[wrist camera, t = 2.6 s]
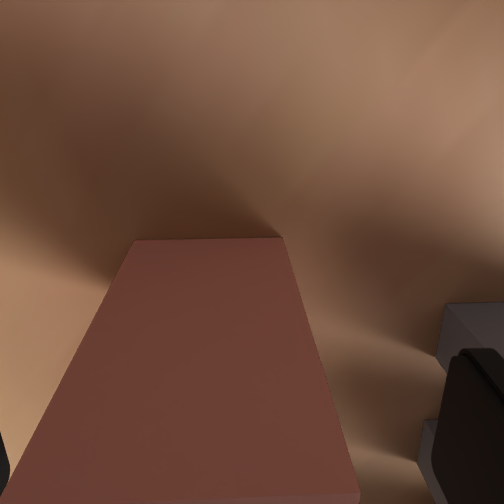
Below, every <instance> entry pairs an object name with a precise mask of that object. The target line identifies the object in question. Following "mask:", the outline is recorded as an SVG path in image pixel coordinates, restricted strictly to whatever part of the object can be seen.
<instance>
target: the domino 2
mask: <svg viewBox="0 0 504 504" xmlns="http://www.w3.org/2000/svg"><path fill="white" fill-rule="evenodd" d="M437 423H438V419H435V420H424V425H423V431H422V436H421V441H420V447H419V452H418V458H417V465H418V467H419V469H420V471H421V473H422V475H423V477H424V480H425V482H426V484H427V486H428V488H429V490H430V492H431V494H432V497H433V499H434V501H435V503H436V504H448V502H447V500H446V498H445V496H444V494H443V492H442V489H441V487H440V485H439V483H438V481H437V479H436V477H435V474H434V472H433V468H432V464H431V452H432V447H433V442H434V437H435V433H436V428H437Z"/></svg>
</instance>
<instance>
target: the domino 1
mask: <svg viewBox="0 0 504 504" xmlns="http://www.w3.org/2000/svg"><path fill="white" fill-rule="evenodd" d="M360 496H361V491H360V488H359V485H358V481H357V478H356V475H355V472H354V468H353V465H352V462H351V459H350V455H349V452H348V449H347V446H346V442H345V439H344V436H343V433H342V429H341V426H340V423H339V420H338V416H337V413H336V410H335V407H334V403H333V400H332V397H331V394H330V390H329V387H328V384H327V381H326V377H325V374H324V371H323V368H322V364H321V361H320V358H319V355H318V351H317V348H316V345H315V342H314V338H313V335H312V332H311V329H310V325H309V322H308V319H307V316H306V312H305V309H304V306H303V303H302V299H301V296H300V293H299V290H298V286H297V283H296V280H295V277H294V273H293V270H292V267H291V264H290V260H289V257H288V254H287V251H286V247H285V244H284V241H283V238H282V237H273V238H224V239H176V240H134V242H133V244H132V246H131V247H130V249H129V251H128V253H127V255H126V257H125V259H124V261H123V263H122V265H121V267H120V269H119V271H118V272H117V274H116V276H115V278H114V280H113V282H112V284H111V286H110V288H109V290H108V292H107V294H106V296H105V297H104V299H103V301H102V303H101V305H100V307H99V309H98V311H97V313H96V315H95V317H94V319H93V320H92V322H91V324H90V326H89V328H88V330H87V332H86V334H85V336H84V338H83V340H82V342H81V344H80V345H79V347H78V349H77V351H76V353H75V355H74V357H73V359H72V361H71V363H70V365H69V367H68V368H67V370H66V372H65V374H64V376H63V378H62V380H61V382H60V384H59V386H58V388H57V390H56V392H55V393H54V395H53V397H52V399H51V401H50V403H49V405H48V407H47V409H46V411H45V413H44V415H43V417H42V418H41V420H40V422H39V424H38V426H37V428H36V430H35V432H34V434H33V436H32V438H31V440H30V441H29V443H28V445H27V447H26V449H25V451H24V453H23V455H22V457H21V459H20V461H19V463H18V465H17V466H16V468H15V470H14V472H13V474H12V476H11V478H10V480H9V482H8V484H7V486H6V488H5V489H4V491H3V493H2V495H1V497H0V504H360Z"/></svg>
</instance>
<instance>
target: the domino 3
mask: <svg viewBox="0 0 504 504" xmlns="http://www.w3.org/2000/svg"><path fill="white" fill-rule="evenodd" d="M463 348H493V349H495V350H496V351H497V352H498V353H499V354H500V355H501V356H502V357H503V359H504V302H490V303H454V304H445V309H444V314H443V320H442V325H441V331H440V336H439V342H438V347H437V353H436V359H437V360H438V362H439V363H440V365H441V366H442V368H443V369H444V370H445V372H446V373H448V368H449V363H450V360H451V358H452V357H453V356H458V354H459V352H460V350H461V349H463Z"/></svg>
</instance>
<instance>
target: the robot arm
mask: <svg viewBox="0 0 504 504" xmlns="http://www.w3.org/2000/svg"><path fill="white" fill-rule="evenodd" d="M431 464H432V468H433V472H434V474H435V477H436V479H437V481H438V483H439V485H440V487H441V489H442V492H443V494H444V496H445V498H446V500H447V502H448V504H504V359H503V357H502V356H501V355H500V354H499V353H498V352H497V351H496V350H495V349H493V348H463V349H461V350H460V352H459V354H458V356H453V357H452V358H451V360H450V363H449V368H448V373H447V378H446V383H445V388H444V393H443V398H442V403H441V408H440V413H439V418H438V423H437V428H436V433H435V437H434V442H433V447H432V452H431ZM9 475H10V464H9V461H8V457H7V454H6V450H5V447H4V443H3V440H2V436H1V433H0V497H1V495H2V493H3V491H4V489H5V487H6V485H7V483H8V480H9Z"/></svg>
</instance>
